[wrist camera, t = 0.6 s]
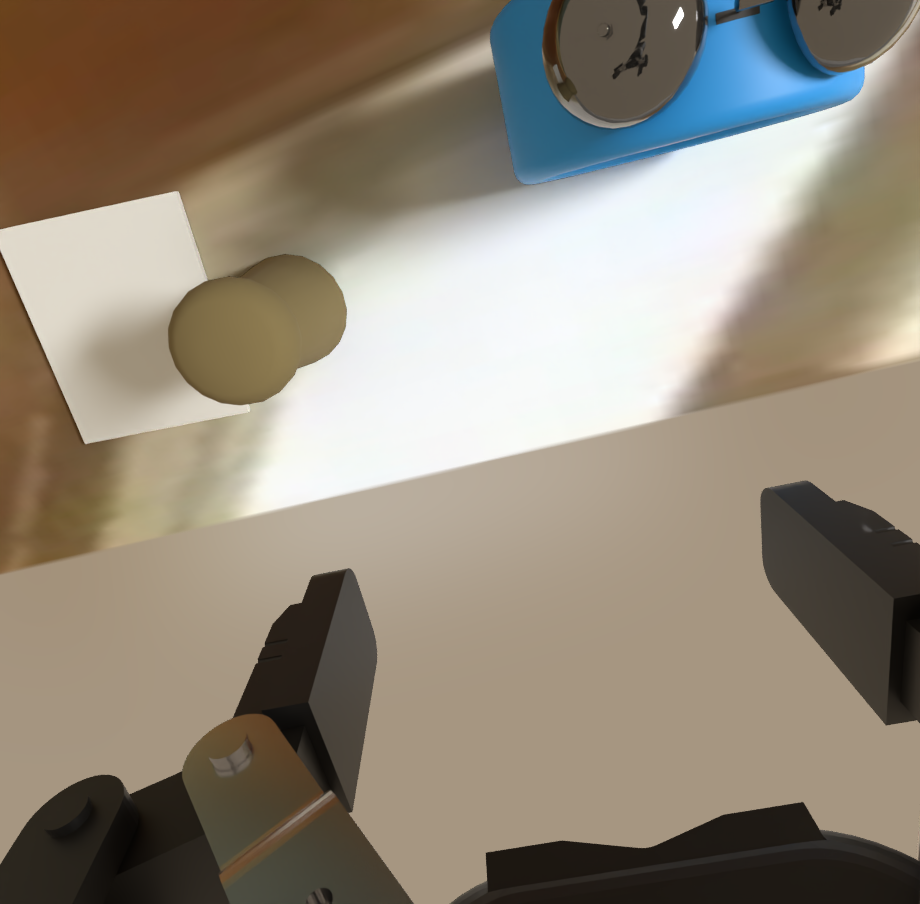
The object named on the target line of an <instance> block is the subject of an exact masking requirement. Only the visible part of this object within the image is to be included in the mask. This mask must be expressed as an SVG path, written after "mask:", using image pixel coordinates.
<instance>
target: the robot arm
mask: <svg viewBox="0 0 920 904" xmlns="http://www.w3.org/2000/svg"><path fill="white" fill-rule="evenodd" d="M761 528H762V555H763V556H762V557H763V565H764V569H765V573H766V576H767V578H768V581H769V583H770V585H771V587H772V588H773V590H774V591H775V592H776V594H777V595H778V596H779V598H780V599H781V600H782V601H783V602H784V604H785V605H786V606H787V607H788V608H789V609H790V611H791V612H792V613H793V614H794V615H795V617H796V618H797V619H798V620H799V621H800V623H801V624H802V625H803V626H804V627H805V629H806V630H807V631H808V632H809V633H810V635H811V636H812V637H813V638H814V639H815V641H816V642H817V643H818V644H819V645H820V647H821V648H822V649H823V650H824V651H825V652H826V654H827V655H828V656H829V657H830V659H831V660H832V661H833V662H834V663H835V665H836V666H837V667H838V668H839V669H840V671H841V672H842V673H843V674H844V675H845V677H846V678H847V679H848V680H849V681H850V683H851V684H852V685H853V686H854V687H855V689H856V690H857V691H858V692H859V693H860V695H861V696H862V697H863V698H864V699H865V701H866V702H867V703H868V704H869V705H870V707H871V708H872V709H873V710H874V711H875V713H876V714H877V715H878V716H879V717H880V719H881V720H882V721H883V722H884V723H885V725H891V724H897V723H903V722H909V721H915V720H918V722H919V723H920V545H919V544H918V543H913V542H912V539H911V538H909V537H908V536H907V535H906V534H904V533H903V532H901V531H900V530H895V527H894V526H893V525H892V524H890V523H889V522H888V521H886V520H885V519H884V518H882V517H881V516H879V515H878V514H877V513H875V512H874V511H872V510H869V509H866V508H863V507H861V506H858V505H856V504H853V503H850V502H847V501H845V500H842V501H837V502H835V501H834V500H833V499H831V498H830V497H829V496H828V495H826V494H825V493H824V492H823V491H821V490H820V489H819V488H817V487H816V486H815V485H813V484H812V483H811V482H808V481H800V482H795V483H790V484H785V485H780V486H775V487H770V488H765V489H764V490H763V492H762V494H761ZM376 664H377V648H376V640H375V635H374V631H373V628H372V625H371V622H370V619H369V616H368V612H367V610H366V607H365V603H364V601H363V597H362V594H361V591H360V588H359V585H358V582H357V579H356V577H355V575H354V572H353V571H352V570H351V569H349V568H348V569H343V570H338V571H333V572H328V573H323V574H318V575H314V576H312V577H311V580H310V582H309V585H308V587H307V590H306V593H305V595H304V599H303V601H302V603H299V604H294V605H290V606H289V607H288V608H287V609H286V610H285V611H284V612H283V614H282V615H281V616H280V617H279V618H278V619H277V620H276V621H275V622H274V623H273V625H272V627H271V630H270V632H269V634H268V637H267V639H266V641H265V647H263V648H262V651H261V653H260V655H259V658H258V663H257V664H256V665H255V667H254V669H253V672H252V674H251V676H250V679H249V681H248V684H247V686H246V688H245V691H244V693H243V695H242V698H241V700H240V702H239V705H238V707H237V709H236V712H235V714H234V717H233V718H232V719H230V720H227V721H225V722H223V723H222V724H220V725H218V726H216V727H215V728H214V729H212V730H211V731H209V732H208V733H207V734H206V735H205V736H203V737H202V738H201V739H200V740H199V741H198V742H197V743H196V745H195V746H194V747H193V748H192V750H191V751H190V753H189V755H188V756H187V758H186V760H185V763H184V765H183V769H182V772H179V773H177V774H175V775H173V776H171V777H168V778H166V779H164V780H162V781H159V782H157V783H155V784H152V785H150V786H148V787H146V788H143V789H141V790H139V791H136V792H134V793H132V794H129V793H128V792H127V790H126V788H125V787H124V785H123V783H122V782H121V780H120V779H119V778H117V777H115V776H112V775H98V776H93V777H90V778H86V779H84V780H82V781H79V782H77V783H75V784H73V785H71V786H69V787H68V788H66V789H64V790H63V791H61V792H60V793H58V794H57V795H55V796H54V797H53V798H52V799H50V800H49V801H48V802H47V803H45V804H44V805H43V806H42V807H41V808H40V809H39V810H38V811H37V812H36V813H35V814H34V815H33V816H32V818H31V819H30V820H29V821H28V822H27V824H26V825H25V827H24V828H23V830H22V831H21V833H20V834H19V836H18V837H17V839H16V841H15V842H14V844H13V845H12V847H11V848H10V850H9V852H8V853H7V855H6V856H5V858H4V859H3V861H2V863H1V864H0V904H414V903H413V902H412V900H411V899H410V898H409V896H408V895H407V893H406V892H405V891H404V889H403V888H402V886H401V885H400V884H399V882H398V881H397V880H396V878H395V877H394V875H393V874H392V873H391V871H390V870H389V869H388V867H387V866H386V864H385V863H384V862H383V860H382V859H381V858H380V856H379V855H378V853H377V852H376V851H375V849H374V848H373V846H372V845H371V844H370V842H369V841H368V840H367V838H366V837H365V835H364V834H363V833H362V831H361V830H360V828H359V827H358V826H357V824H356V823H355V821H354V820H353V819H352V817H351V816H350V815H349V813H350V812H352V810H353V805H354V799H355V792H356V786H357V780H358V774H359V768H360V762H361V755H362V750H363V744H364V738H365V731H366V725H367V719H368V713H369V707H370V700H371V695H372V689H373V682H374V676H375V670H376ZM486 866H487V881H486V882H484V883H482V884H480V885H477V886H475V887H474V888H472V889H470V890H469V891H467V892H466V893H464V894H462V895H461V896H459V897H458V898H457V899H455V900H454V901H453V902H452V903H450V904H920V819H919V832H918V847H917V859H914V858H912V857H910V856H908V855H906V854H904V853H902V852H899V851H897V850H894V849H892V848H889V847H887V846H884V845H882V844H879V843H877V842H873V841H870V840H866V839H863V838H860V837H856V836H853V835H848V834H842V833H838V832H833V831H825V830H819V828H818V826H817V825H816V823H815V821H814V820H813V818H812V816H811V815H810V813H809V811H808V809H807V808H806V806H805V804H804V803H803V802H801V803H795V804H788V805H782V806H776V807H770V808H764V809H757V810H751V811H745V812H738V813H732V814H726V815H722V816H720V817H718V818H715V819H713V820H711V821H709V822H707V823H704V824H703V825H700V826H698V827H696V828H693V829H691V830H689V831H687V832H685V833H682V834H680V835H678V836H676V837H674V838H671V839H669V840H667V841H665V842H663V843H660V844H658V845H656V846H653V847H649V848H632V847H621V846H611V845H601V844H590V843H580V842H570V841H557V842H550V843H544V844H538V845H532V846H525V847H519V848H513V849H506V850H500V851H495V852H488V853H486Z"/></svg>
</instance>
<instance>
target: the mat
mask: <svg viewBox="0 0 920 904" xmlns="http://www.w3.org/2000/svg"><path fill="white" fill-rule="evenodd" d="M0 251H1V253H2V255H3V258H4V260H5V262H6V265H7V267H8V269H9V271H10V274H11V276H12V278H13V281H14V283H15V285H16V287H17V290H18V292H19V294H20V297H21V299H22V301H23V303H24V306H25V308H26V310H27V313H28V315H29V317H30V319H31V322H32V324H33V326H34V328H35V331H36V333H37V335H38V338H39V340H40V342H41V344H42V347H43V349H44V351H45V354H46V356H47V358H48V360H49V363H50V365H51V367H52V370H53V372H54V374H55V376H56V379H57V381H58V383H59V386H60V388H61V390H62V392H63V395H64V397H65V399H66V402H67V404H68V406H69V408H70V411H71V413H72V415H73V418H74V420H75V422H76V424H77V427H78V429H79V431H80V434H81V436H82V438H83V440H84V443H85V444H88V443H93V442H98V441H103V440H108V439H113V438H119V437H124V436H129V435H134V434H139V433H144V432H149V431H155V430H160V429H165V428H170V427H175V426H180V425H185V424H191V423H196V422H201V421H206V420H211V419H216V418H221V417H227V416H232V415H237V414H242V413H247V412H249V411H250V407H249V404H247V405H232V404H223V403H219V402H217V401H215V400H212V399H210V398H208V397H205V396H203V395H202V394H200V393H199V392H198V391H197V390H195V389H194V388H193V387H192V386H190V385H189V384H188V383H187V382H186V381H185V379H184V378H183V377H182V375H181V374H180V372H179V371H178V370H177V368H176V367H175V364H174V361H173V359H172V356H171V353H170V350H169V344H168V327H169V323H170V320H171V317H172V314H173V311H174V309H175V308H176V307H177V305H178V304H179V303H180V301H181V300H182V299H183V297H184V296H185V295H186V294H187V292H188V291H190V290H191V289H193V288H195V287H196V286H198V285H200V284H201V283H203V282H204V281H208V279H207V276H206V273H205V270H204V267H203V264H202V261H201V258H200V255H199V252H198V249H197V246H196V243H195V240H194V237H193V234H192V231H191V228H190V225H189V222H188V219H187V216H186V213H185V210H184V207H183V203H182V200H181V197H180V194H179V192H176V191H175V192H170V193H166V194H161V195H157V196H152V197H147V198H143V199H138V200H134V201H129V202H124V203H120V204H115V205H111V206H106V207H101V208H97V209H92V210H88V211H83V212H78V213H74V214H69V215H65V216H60V217H55V218H51V219H46V220H42V221H37V222H32V223H28V224H23V225H19V226H14V227H9V228H5V229H0Z"/></svg>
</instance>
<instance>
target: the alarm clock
mask: <svg viewBox="0 0 920 904" xmlns="http://www.w3.org/2000/svg"><path fill="white" fill-rule="evenodd" d="M919 9H920V0H511V1H510V2H509V3H508V4H507V5H506V6H505V7H504V8H503V10H502V11H501V12H500V13H499V14H498V16H497V17H496V19H495V21H494V23H493V26H492V29H491V32H490V43H491V49H492V54H493V60H494V65H495V70H496V76H497V81H498V87H499V92H500V98H501V103H502V108H503V114H504V119H505V125H506V130H507V136H508V141H509V147H510V152H511V157H512V163H513V168H514V173H515V176H516V178H517V179H518V180H519V181H520V182H521V183H523V184H538V183H543V182H548V181H553V180H557V179H562V178H566V177H570V176H575V175H579V174H583V173H587V172H592V171H596V170H600V169H604V168H608V167H612V166H616V165H620V164H624V163H628V162H632V161H636V160H640V159H644V158H648V157H652V156H656V155H660V154H664V153H668V152H672V151H675V150H679V149H683V148H687V147H691V146H695V145H699V144H702V143H706V142H710V141H714V140H718V139H721V138H725V137H729V136H733V135H736V134H740V133H744V132H747V131H751V130H755V129H758V128H762V127H766V126H769V125H773V124H777V123H780V122H784V121H787V120H791V119H794V118H798V117H801V116H805V115H808V114H812V113H815V112H819V111H822V110H825V109H828V108H832V107H835V106H838V105H840V104H843V103H845V102H847V101H850V100H852V99H853V98H854V97H855V96H856V95H857V94H858V93H859V92H860V90H861V88H862V87H863V83H864V66H866V65H868V64H870V63H872V62H873V61H875V60H876V59H877V58H879V57H880V56H881V55H883V54H884V53H885V52H886V51H888V50H889V49H890V48H892V47H893V45H894V44H895V43H896V42H897V41H898V40H899V39H900V37H901V36H902V35H903V34H904V33H905V31H906V30H907V29H908V28H909V26H910V25H911V23H912V21H913V20H914V18H915V16H916V14H917V13H918V11H919Z"/></svg>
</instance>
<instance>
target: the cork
mask: <svg viewBox="0 0 920 904" xmlns="http://www.w3.org/2000/svg"><path fill="white" fill-rule="evenodd" d="M346 315H347V309H346V305H345V301H344V297H343V293H342V291H341V289H340V288H339V286H338V284H337V283H336V281H335V279H334V278H333V276H332V275H330V274H329V273H328V272H327V271H326V270H325V269H324V268H323V267H322V266H321V265H320V264H317V263H315V262H313V261H311V260H309V259H307V258H305V257H302V256H295V255H287V254H284V255H279V256H274V257H269V258H267V259H265V260H263V261H262V262H260V263H259V264H257V265H255V266H254V267H252V268H251V269H250V270H249V271H248V272H246V273H245V274H244V275H243V276H241V277H240V278H238V277H230V276H229V277H224V278H219V279H214V280H209V281H204V282H203V283H201V284H200V285H198V286H196V287H195V288H193V289H191V290H190V291H188V292H187V294H186V295H185V296H184V297H183V299H182V300H181V301H180V303H179V304H178V305H177V307H176V308H175V309H174V311H173V314H172V317H171V320H170V323H169V327H168V344H169V350H170V353H171V356H172V359H173V361H174V364H175V367H176V368H177V370H178V371H179V372H180V374H181V375H182V377H183V378H184V379H185V381H186V382H187V383H188V384H189V385H190V386H192V387H193V388H194V389H195V390H197V391H198V392H199V393H200V394H202V395H203V396H205V397H208V398H210V399H212V400H215V401H217V402H219V403H223V404H232V405H247V404H252V403H257V402H262V401H265V400H267V399H268V398H270V397H272V396H274V395H275V394H277V393H279V392H280V391H281V390H282V389H283V388H284V387H285V385H286V384H287V383H288V382H289V381H290V380H291V378H292V377H293V376H294V375H295V372H296V370H297V369H298V368H300V367H303V366H306V365H309V364H312V363H314V362H316V361H318V360H320V359H322V358H323V357H325V356H327V355H329V354H330V353H331V351H332V350H333V349H334V348H335V347H336V346H337V345H338V343H339V342H340V340H341V337H342V335H343V332H344V330H345V327H346Z"/></svg>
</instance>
